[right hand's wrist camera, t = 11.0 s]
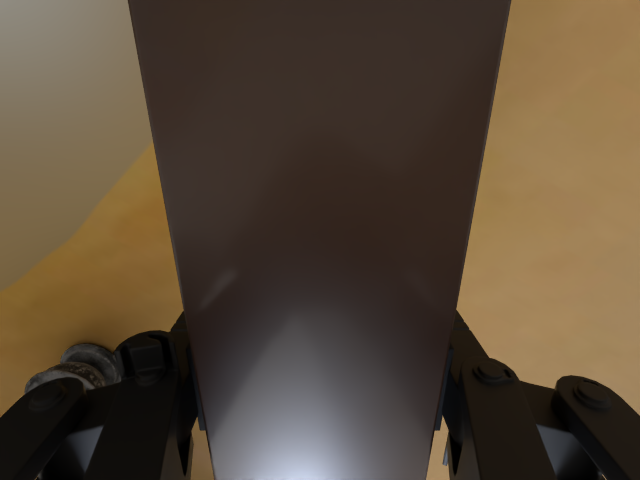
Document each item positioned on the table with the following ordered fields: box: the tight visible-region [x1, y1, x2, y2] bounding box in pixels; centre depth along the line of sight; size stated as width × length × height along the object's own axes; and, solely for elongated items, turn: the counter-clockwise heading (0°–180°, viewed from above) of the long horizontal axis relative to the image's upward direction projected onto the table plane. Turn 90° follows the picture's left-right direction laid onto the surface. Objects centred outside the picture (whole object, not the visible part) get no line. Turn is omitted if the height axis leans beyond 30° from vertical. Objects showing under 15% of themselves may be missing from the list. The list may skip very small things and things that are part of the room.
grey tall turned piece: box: [25, 344, 121, 394], centre depth 24 cm, size 6×6×12 cm
